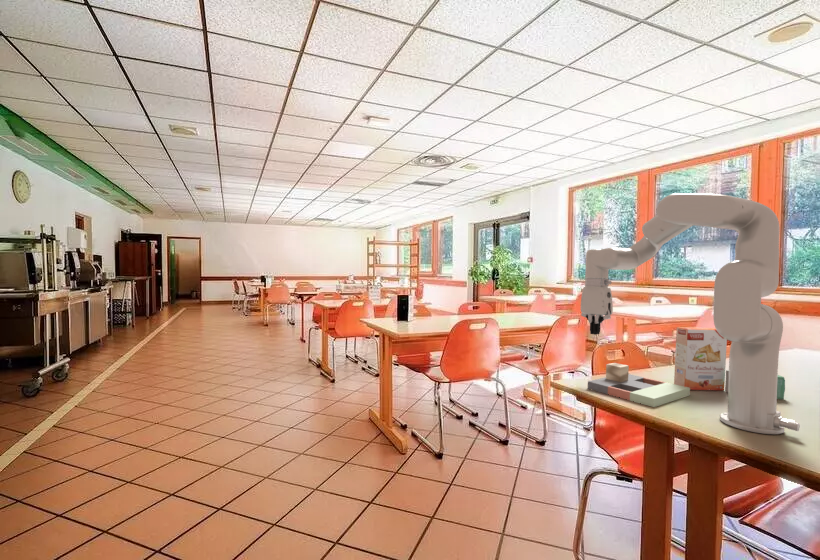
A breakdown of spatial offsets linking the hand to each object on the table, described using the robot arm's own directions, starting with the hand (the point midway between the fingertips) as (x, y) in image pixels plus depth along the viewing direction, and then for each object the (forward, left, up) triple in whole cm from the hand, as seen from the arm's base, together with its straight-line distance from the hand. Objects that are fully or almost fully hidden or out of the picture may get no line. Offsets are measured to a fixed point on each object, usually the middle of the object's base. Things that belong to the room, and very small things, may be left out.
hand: (594, 333), depth 142 cm
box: (-37, -31, -17) cm, 51 cm away
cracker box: (-24, -24, -17) cm, 38 cm away
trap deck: (-16, 0, -17) cm, 23 cm away
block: (-9, 0, -14) cm, 17 cm away
